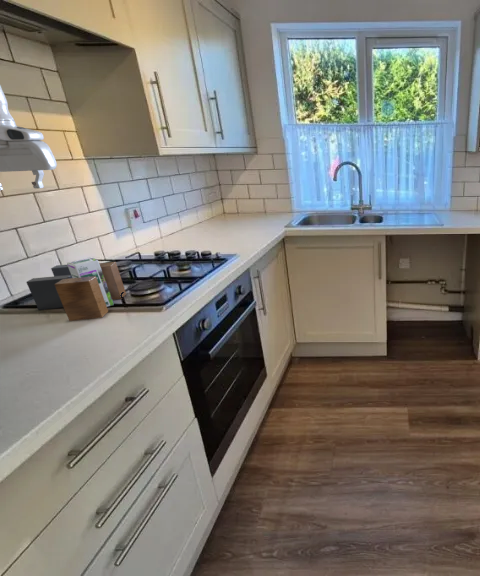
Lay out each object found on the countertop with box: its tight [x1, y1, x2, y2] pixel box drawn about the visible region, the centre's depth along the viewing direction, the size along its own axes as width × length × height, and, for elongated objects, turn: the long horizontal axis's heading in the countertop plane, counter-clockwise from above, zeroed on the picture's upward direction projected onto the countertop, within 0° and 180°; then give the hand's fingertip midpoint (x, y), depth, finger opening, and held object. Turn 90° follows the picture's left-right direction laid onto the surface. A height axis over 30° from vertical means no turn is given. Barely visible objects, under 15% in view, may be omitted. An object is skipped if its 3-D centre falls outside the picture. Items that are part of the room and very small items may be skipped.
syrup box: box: [66, 256, 114, 308], centre depth 105 cm, size 6×6×14 cm
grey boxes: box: [25, 264, 72, 311], centre depth 113 cm, size 10×15×9 cm, turn 14°
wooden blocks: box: [54, 261, 127, 322], centre depth 106 cm, size 8×17×11 cm, turn 14°
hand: (18, 189), depth 97 cm, fingers open, 8 cm apart
